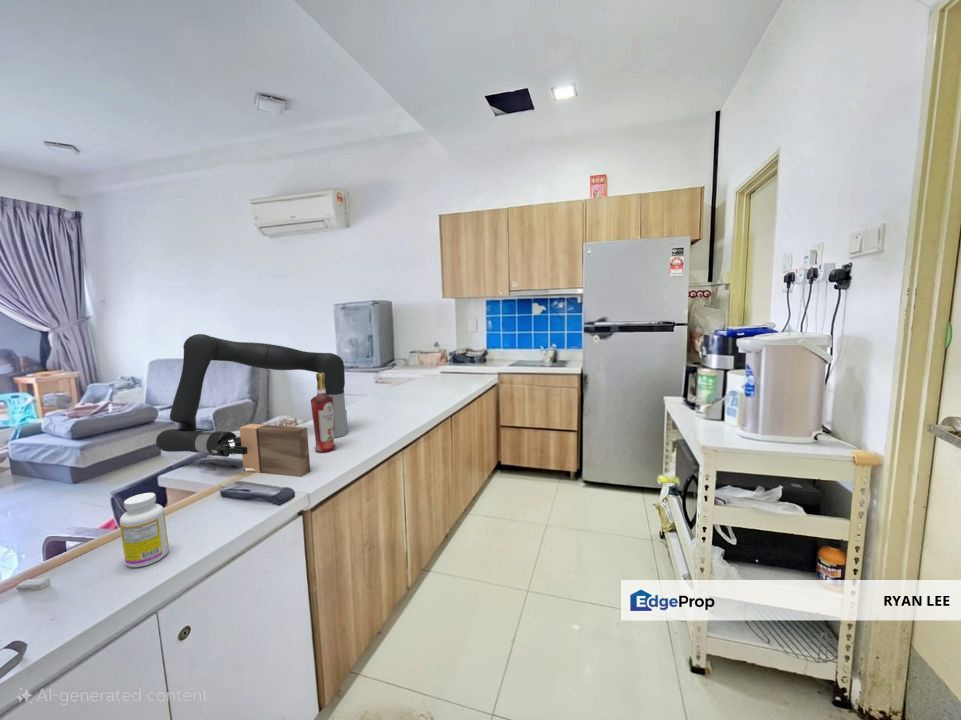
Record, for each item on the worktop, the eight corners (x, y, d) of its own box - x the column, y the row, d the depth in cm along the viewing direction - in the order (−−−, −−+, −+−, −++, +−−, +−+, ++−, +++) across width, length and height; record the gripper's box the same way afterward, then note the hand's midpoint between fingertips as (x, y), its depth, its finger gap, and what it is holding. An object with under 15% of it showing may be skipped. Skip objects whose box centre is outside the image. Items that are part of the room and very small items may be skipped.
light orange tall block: (254, 466, 124) (250, 423, 122) (269, 467, 122) (266, 424, 121) (243, 471, 120) (239, 427, 118) (259, 472, 119) (255, 428, 117)
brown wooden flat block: (271, 468, 122) (267, 424, 121) (310, 472, 119) (307, 427, 117) (260, 473, 118) (256, 428, 117) (301, 477, 115) (297, 431, 113)
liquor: (327, 445, 143) (322, 371, 140) (340, 449, 139) (335, 372, 136) (309, 452, 137) (304, 374, 133) (323, 455, 133) (317, 375, 130)
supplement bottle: (143, 549, 80) (135, 491, 79) (177, 547, 81) (170, 489, 79) (116, 570, 74) (107, 507, 72) (152, 568, 74) (144, 505, 73)
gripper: (193, 438, 117) (237, 441, 113) (234, 425, 130) (274, 427, 126) (196, 462, 118) (239, 466, 114) (236, 446, 131) (276, 449, 127)
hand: (257, 446), depth 120 cm, fingers open, 8 cm apart
